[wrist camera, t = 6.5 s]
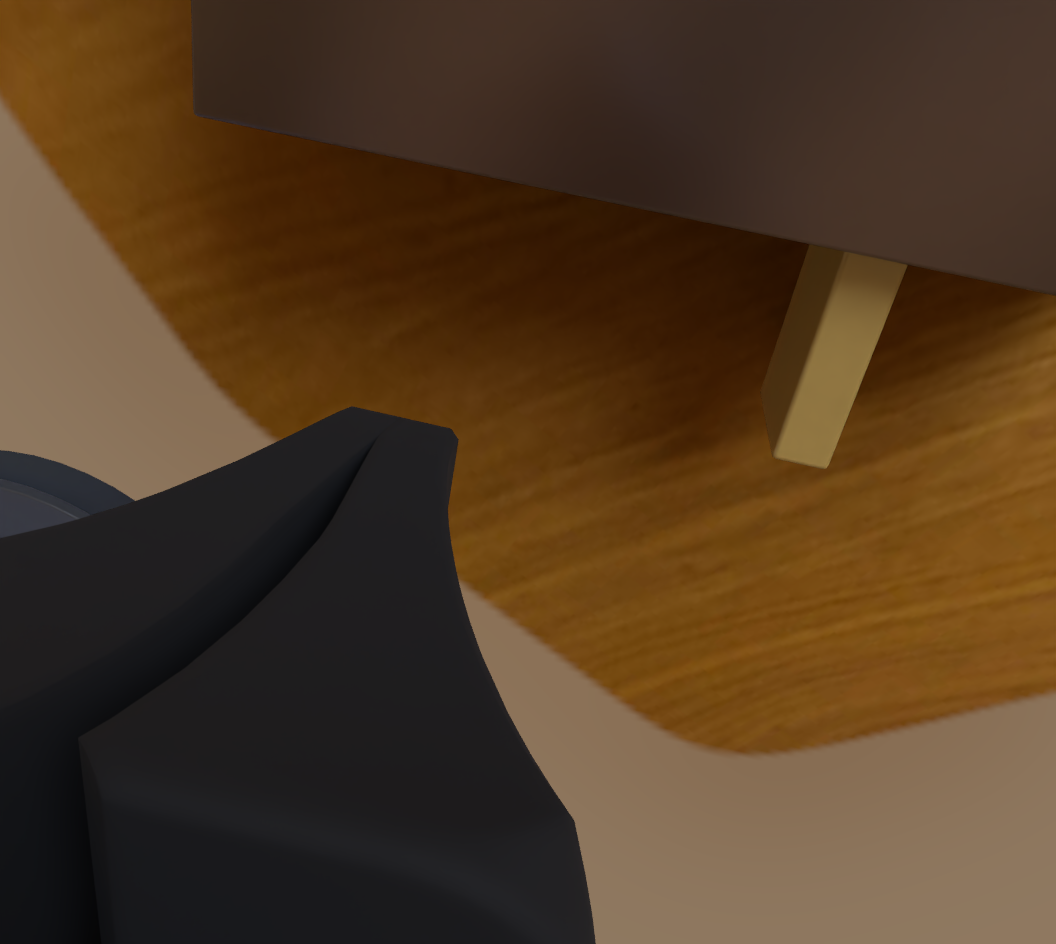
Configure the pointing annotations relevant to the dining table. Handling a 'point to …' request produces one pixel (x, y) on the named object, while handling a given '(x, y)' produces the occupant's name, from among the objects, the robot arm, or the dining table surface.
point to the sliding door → (825, 351)
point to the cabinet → (687, 109)
